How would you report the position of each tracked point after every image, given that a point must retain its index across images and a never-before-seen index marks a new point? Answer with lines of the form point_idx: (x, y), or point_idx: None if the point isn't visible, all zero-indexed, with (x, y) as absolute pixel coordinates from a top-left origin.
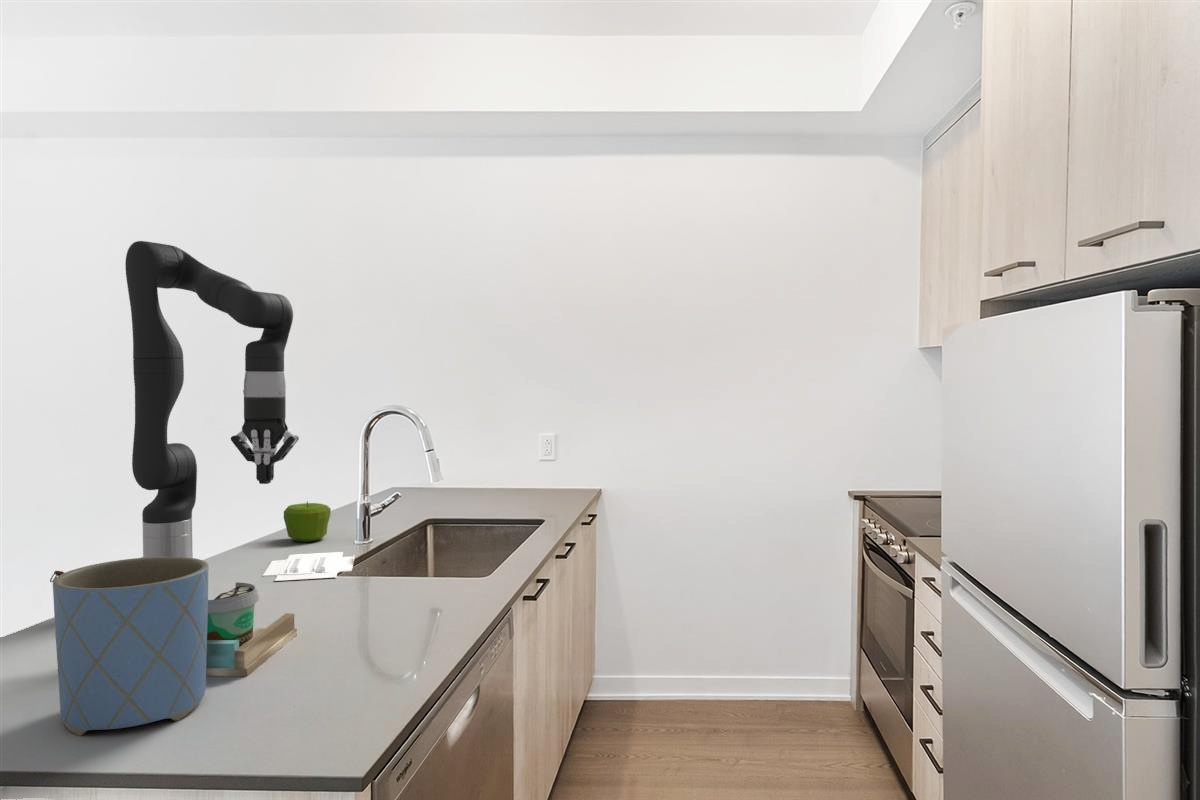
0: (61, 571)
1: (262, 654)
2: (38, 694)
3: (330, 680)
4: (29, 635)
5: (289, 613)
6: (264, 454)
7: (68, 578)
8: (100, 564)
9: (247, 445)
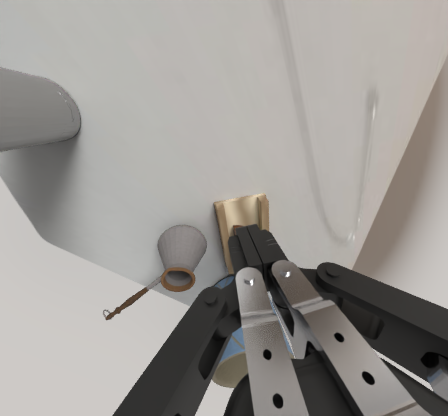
0: (111, 317)
1: None
2: None
3: (311, 250)
4: (53, 234)
5: (264, 201)
6: (288, 333)
7: (217, 377)
8: (216, 368)
9: (186, 389)
